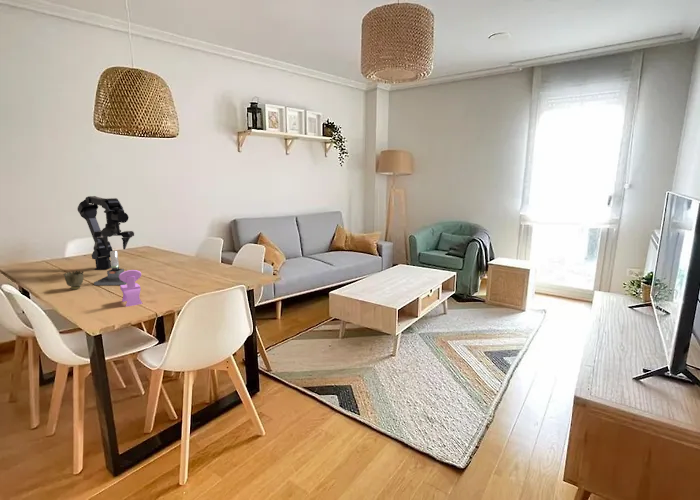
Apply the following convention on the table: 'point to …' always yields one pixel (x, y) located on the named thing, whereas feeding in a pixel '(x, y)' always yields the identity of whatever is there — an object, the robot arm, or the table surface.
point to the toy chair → (130, 287)
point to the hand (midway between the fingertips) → (115, 249)
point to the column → (114, 260)
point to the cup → (74, 279)
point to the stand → (111, 278)
